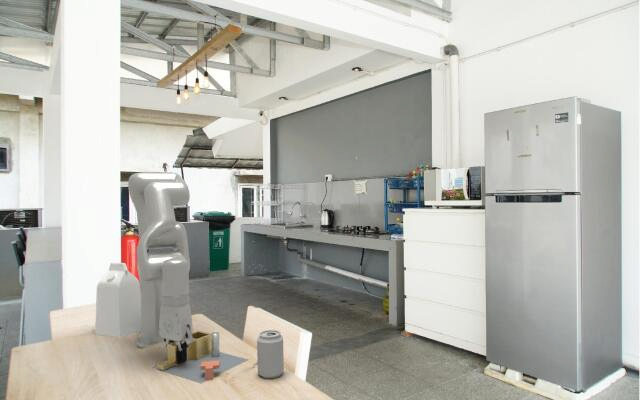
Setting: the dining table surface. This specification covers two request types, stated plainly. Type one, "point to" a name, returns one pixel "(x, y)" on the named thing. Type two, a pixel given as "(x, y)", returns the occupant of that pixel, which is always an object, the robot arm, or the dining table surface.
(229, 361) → the base plate
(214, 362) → the pink t-shaped block
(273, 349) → the can
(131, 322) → the milk
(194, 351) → the link
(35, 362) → the dining table surface
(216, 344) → the cylinder
